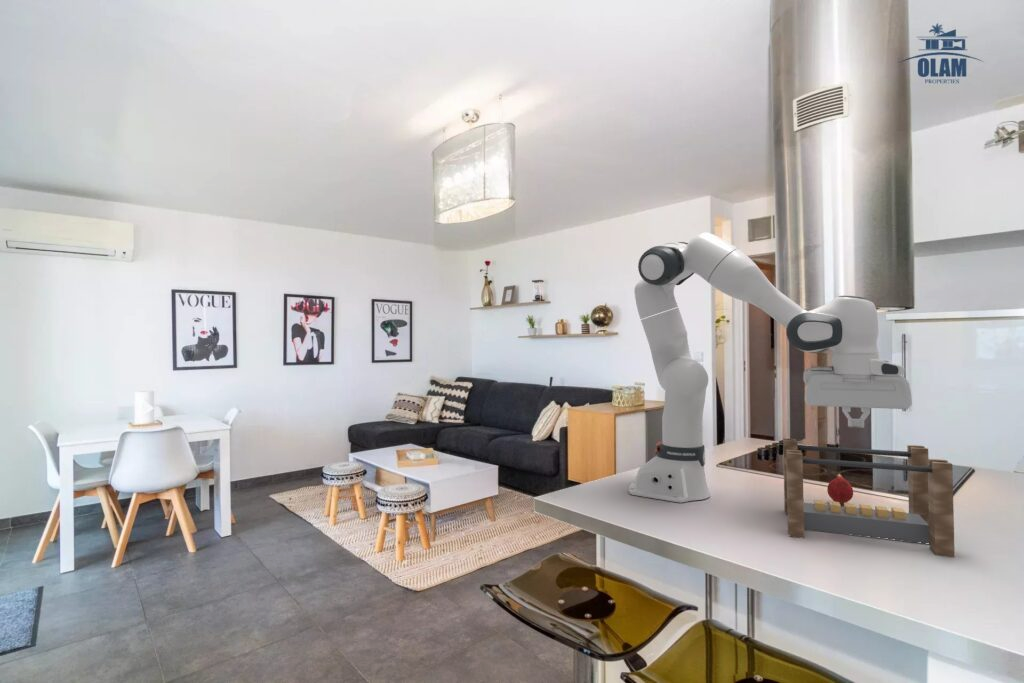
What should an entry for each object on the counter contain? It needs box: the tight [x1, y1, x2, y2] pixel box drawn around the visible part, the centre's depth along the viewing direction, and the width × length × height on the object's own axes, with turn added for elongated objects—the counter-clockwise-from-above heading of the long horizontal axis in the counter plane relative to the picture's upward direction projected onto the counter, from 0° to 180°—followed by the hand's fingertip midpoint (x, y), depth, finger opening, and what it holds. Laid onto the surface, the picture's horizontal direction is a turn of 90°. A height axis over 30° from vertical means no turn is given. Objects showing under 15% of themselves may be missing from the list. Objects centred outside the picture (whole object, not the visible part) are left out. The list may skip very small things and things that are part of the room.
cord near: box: [803, 457, 932, 473], centre depth 110 cm, size 28×1×1 cm, turn 65°
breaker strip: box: [804, 499, 930, 545], centre depth 118 cm, size 24×8×6 cm, turn 65°
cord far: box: [797, 444, 911, 458], centre depth 125 cm, size 28×1×1 cm, turn 65°
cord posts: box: [782, 437, 955, 558], centre depth 118 cm, size 29×20×18 cm
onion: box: [826, 473, 854, 506], centre depth 136 cm, size 6×6×8 cm
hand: (856, 427), depth 118 cm, fingers closed
